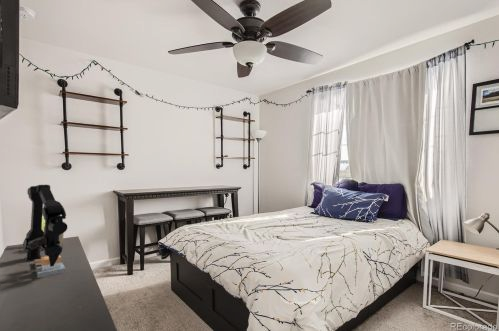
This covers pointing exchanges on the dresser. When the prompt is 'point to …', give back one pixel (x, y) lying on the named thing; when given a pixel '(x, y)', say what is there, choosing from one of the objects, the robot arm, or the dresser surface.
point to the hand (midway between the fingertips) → (50, 263)
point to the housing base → (48, 267)
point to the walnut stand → (37, 263)
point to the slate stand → (49, 271)
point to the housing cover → (46, 260)
